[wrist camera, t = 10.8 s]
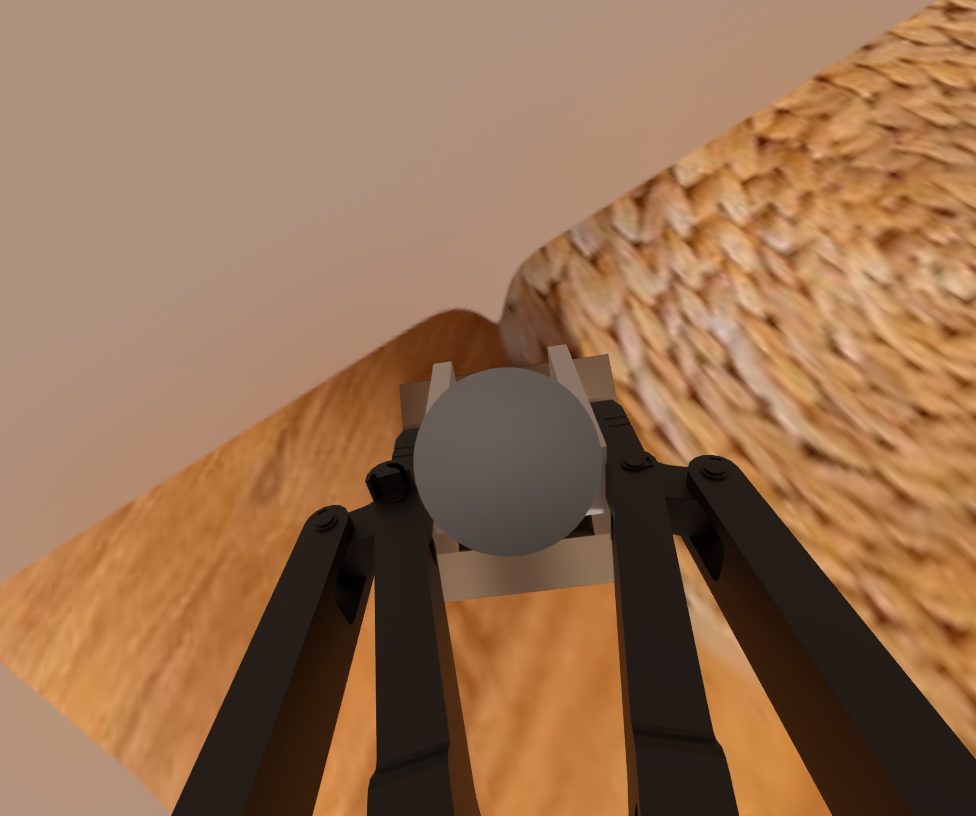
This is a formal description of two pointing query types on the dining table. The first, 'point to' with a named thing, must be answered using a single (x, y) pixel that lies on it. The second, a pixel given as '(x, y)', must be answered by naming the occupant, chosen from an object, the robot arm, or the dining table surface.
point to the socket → (555, 567)
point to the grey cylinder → (507, 462)
